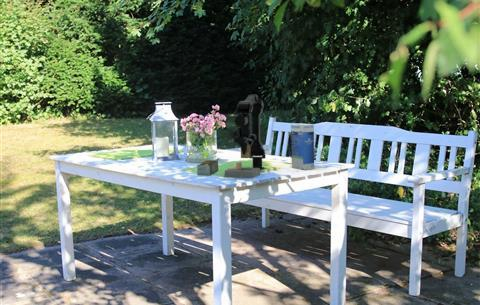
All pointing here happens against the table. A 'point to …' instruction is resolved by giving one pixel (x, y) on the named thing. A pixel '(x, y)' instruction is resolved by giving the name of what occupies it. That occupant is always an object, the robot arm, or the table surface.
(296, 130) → the string lights box
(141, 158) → the table surface
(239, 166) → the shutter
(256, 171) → the socket block
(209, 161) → the beverage carton
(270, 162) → the table surface
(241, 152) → the plug
